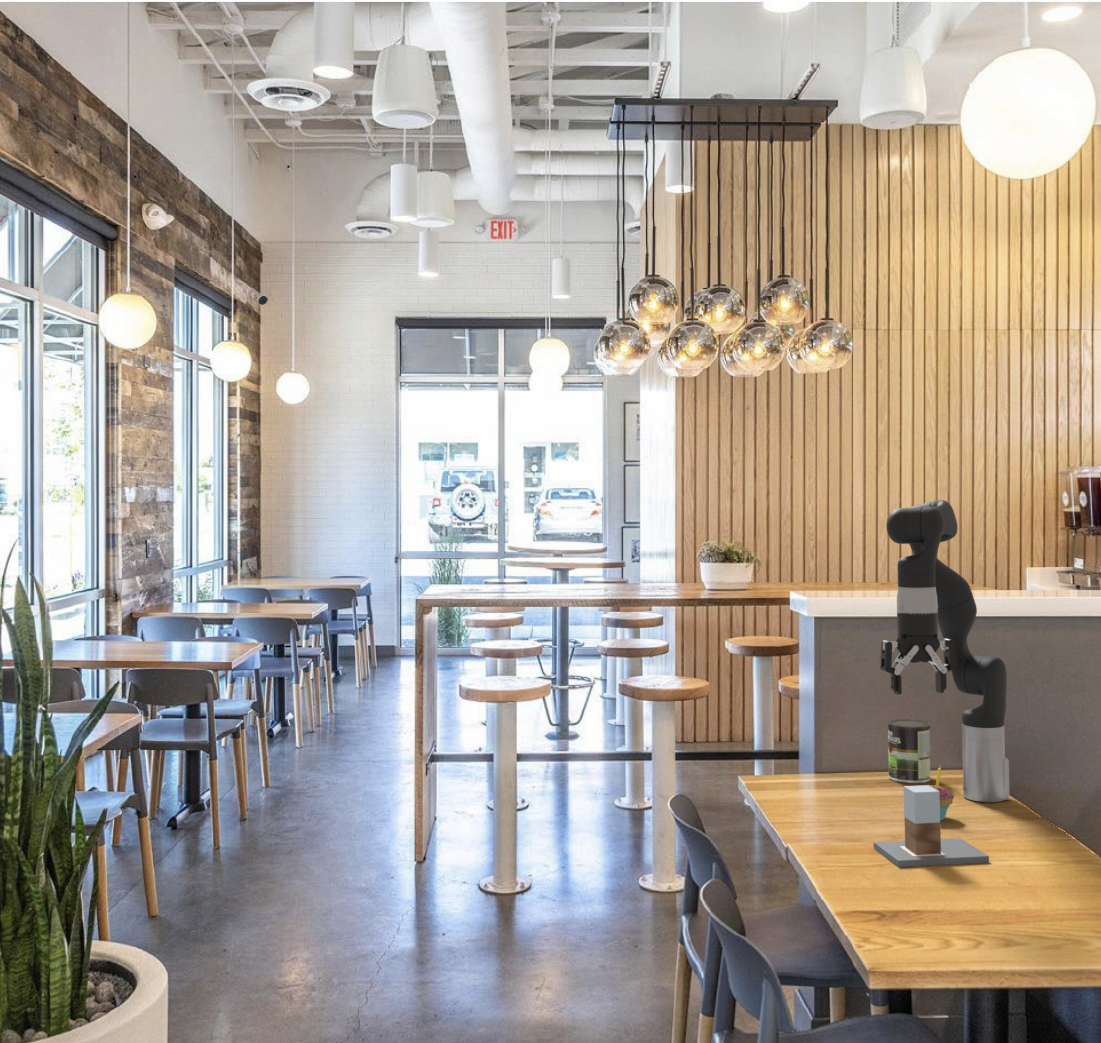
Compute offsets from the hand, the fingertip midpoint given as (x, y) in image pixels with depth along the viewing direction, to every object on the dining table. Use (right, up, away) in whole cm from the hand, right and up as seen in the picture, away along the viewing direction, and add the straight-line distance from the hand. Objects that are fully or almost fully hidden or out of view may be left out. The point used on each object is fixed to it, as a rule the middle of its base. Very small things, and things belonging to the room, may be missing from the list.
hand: (918, 693), depth 213 cm
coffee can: (+19, -32, +63) cm, 73 cm away
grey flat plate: (+3, -32, +1) cm, 32 cm away
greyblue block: (+1, -25, 0) cm, 25 cm away
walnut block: (+1, -31, 0) cm, 31 cm away
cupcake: (+12, -32, +27) cm, 44 cm away
